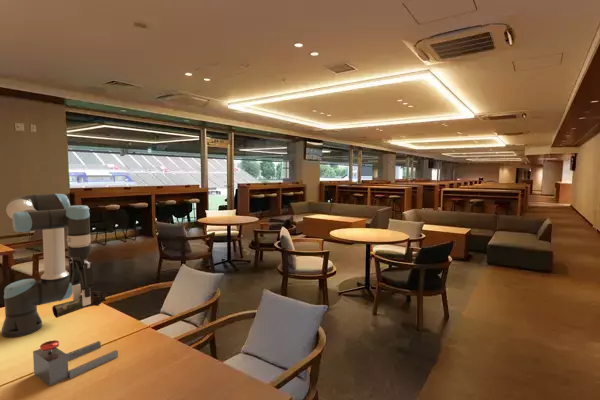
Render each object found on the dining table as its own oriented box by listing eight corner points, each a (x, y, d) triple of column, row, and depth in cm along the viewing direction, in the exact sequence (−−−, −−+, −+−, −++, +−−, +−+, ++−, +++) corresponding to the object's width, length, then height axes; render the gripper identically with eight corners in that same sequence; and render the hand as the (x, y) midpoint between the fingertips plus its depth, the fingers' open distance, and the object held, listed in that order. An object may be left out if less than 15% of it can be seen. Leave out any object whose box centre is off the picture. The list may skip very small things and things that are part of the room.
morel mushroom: (57, 320, 126) (57, 306, 125) (50, 311, 130) (50, 298, 128) (107, 304, 140) (108, 292, 139) (99, 297, 144) (100, 285, 143)
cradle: (33, 373, 129) (31, 341, 128) (98, 346, 149) (97, 318, 148) (51, 387, 121) (49, 353, 120) (118, 356, 141) (117, 327, 140)
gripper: (56, 243, 135) (59, 300, 137) (81, 250, 125) (84, 311, 126) (77, 240, 141) (79, 294, 143) (102, 246, 131) (104, 305, 133)
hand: (81, 302), depth 135 cm, fingers closed on morel mushroom, 7 cm apart
